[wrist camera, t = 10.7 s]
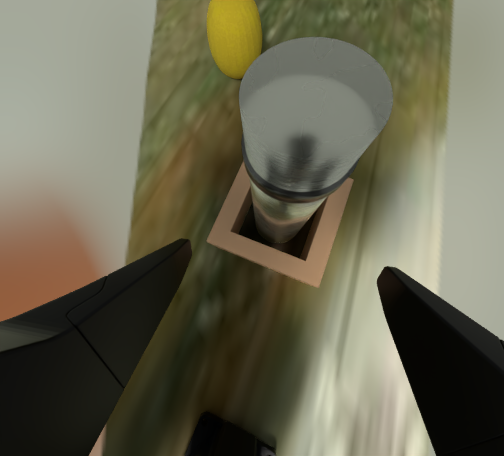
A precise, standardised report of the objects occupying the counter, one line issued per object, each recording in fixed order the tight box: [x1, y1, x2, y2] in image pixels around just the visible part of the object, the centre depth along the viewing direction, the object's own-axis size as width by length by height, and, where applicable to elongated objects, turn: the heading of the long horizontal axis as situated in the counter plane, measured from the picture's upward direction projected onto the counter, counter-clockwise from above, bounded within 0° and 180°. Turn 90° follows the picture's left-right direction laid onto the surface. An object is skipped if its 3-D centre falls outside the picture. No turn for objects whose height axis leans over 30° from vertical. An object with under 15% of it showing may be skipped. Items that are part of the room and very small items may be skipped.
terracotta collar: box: [206, 161, 354, 288], centre depth 17 cm, size 9×9×4 cm
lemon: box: [207, 0, 262, 79], centre depth 20 cm, size 6×6×8 cm
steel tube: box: [239, 37, 393, 243], centre depth 12 cm, size 5×5×14 cm
